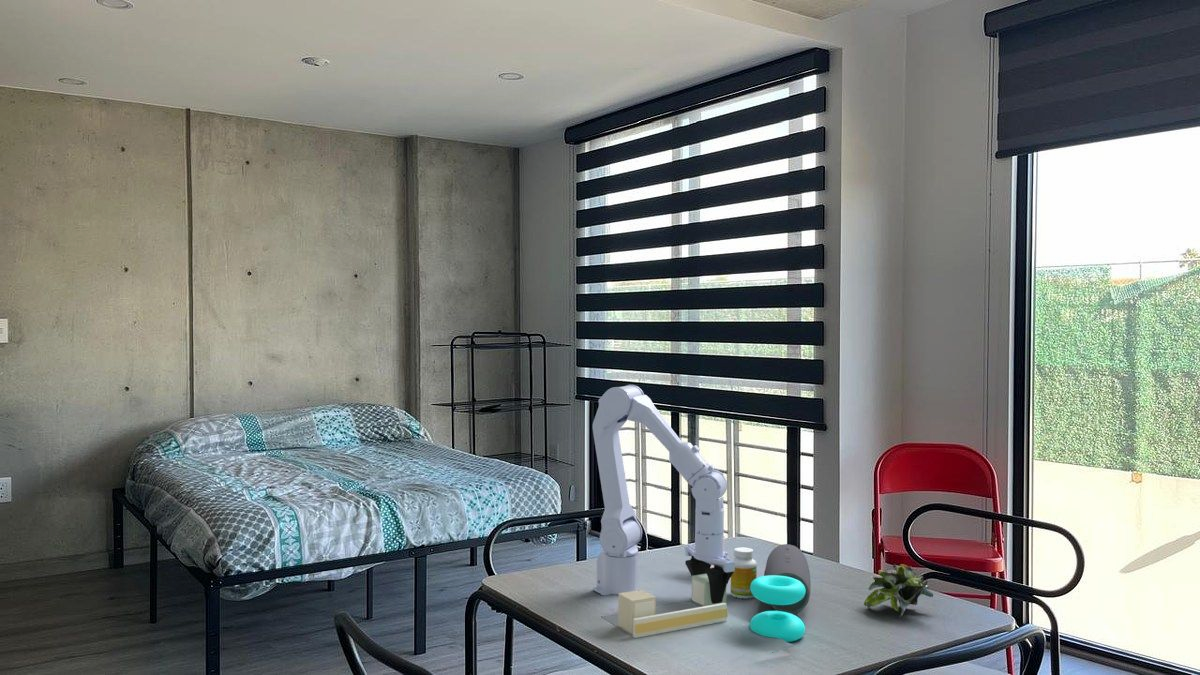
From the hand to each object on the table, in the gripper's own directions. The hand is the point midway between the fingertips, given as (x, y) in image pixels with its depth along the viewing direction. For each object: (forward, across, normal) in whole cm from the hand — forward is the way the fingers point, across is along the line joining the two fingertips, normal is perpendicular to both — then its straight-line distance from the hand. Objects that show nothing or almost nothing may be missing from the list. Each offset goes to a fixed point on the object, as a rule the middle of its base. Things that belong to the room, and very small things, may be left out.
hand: (708, 598), depth 178 cm
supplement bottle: (+2, +3, -11) cm, 12 cm away
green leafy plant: (+2, -20, -32) cm, 38 cm away
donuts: (+2, -19, -2) cm, 19 cm away
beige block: (0, -7, +21) cm, 22 cm away
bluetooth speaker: (+2, -5, -16) cm, 17 cm away
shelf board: (+2, -5, +14) cm, 15 cm away
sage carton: (+2, 0, 0) cm, 2 cm away
